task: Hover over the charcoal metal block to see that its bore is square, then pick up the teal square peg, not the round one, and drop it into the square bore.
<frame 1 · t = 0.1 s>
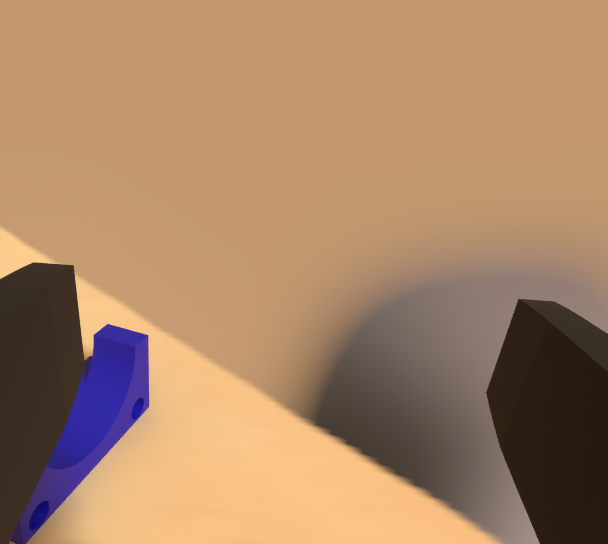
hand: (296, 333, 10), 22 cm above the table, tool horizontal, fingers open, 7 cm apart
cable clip: (64, 459, 35), on the table
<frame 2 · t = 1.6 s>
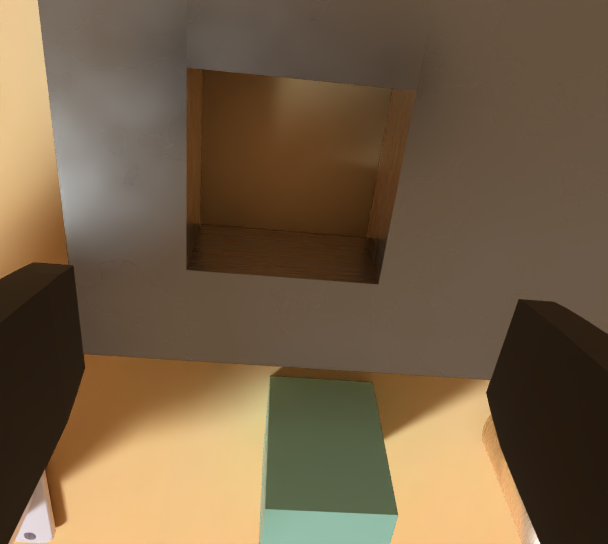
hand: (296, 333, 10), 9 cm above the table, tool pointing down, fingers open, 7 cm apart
bore block: (387, 159, 18), on the table
round peg: (530, 429, 24), on the table
square peg: (315, 416, 23), on the table
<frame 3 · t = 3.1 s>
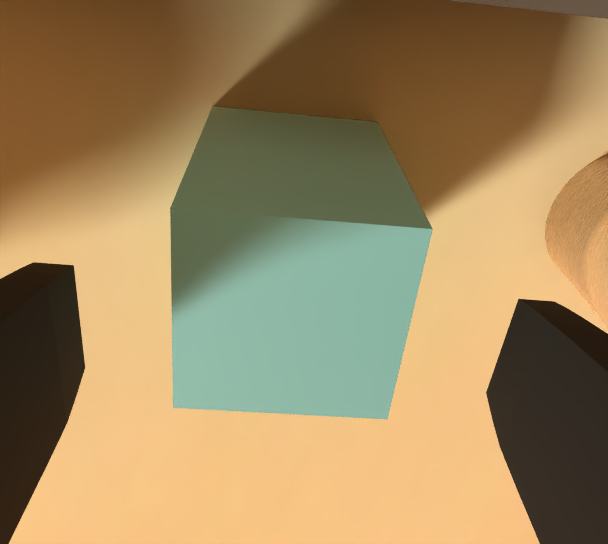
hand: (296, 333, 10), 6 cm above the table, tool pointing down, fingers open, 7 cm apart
square peg: (288, 190, 15), on the table
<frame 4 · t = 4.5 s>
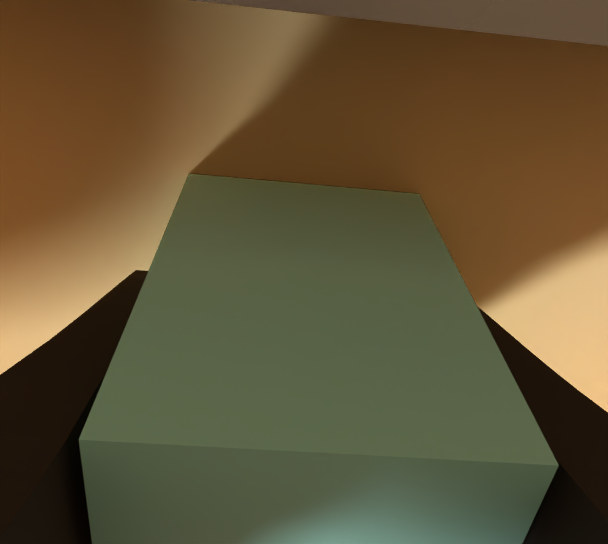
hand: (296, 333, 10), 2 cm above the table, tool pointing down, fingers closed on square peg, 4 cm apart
square peg: (294, 282, 11), on the table, touching gripper
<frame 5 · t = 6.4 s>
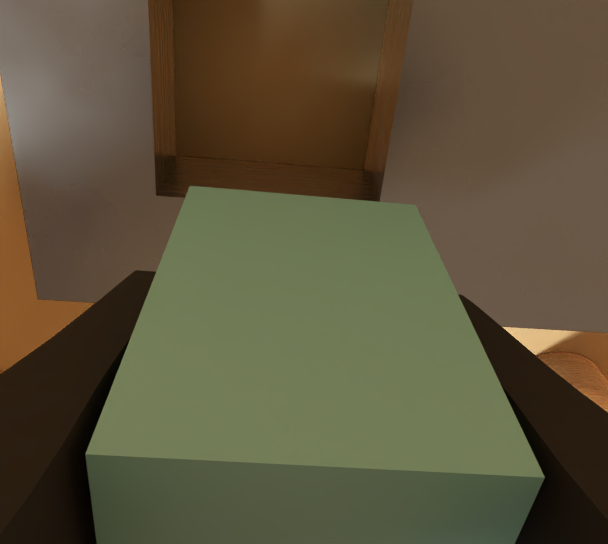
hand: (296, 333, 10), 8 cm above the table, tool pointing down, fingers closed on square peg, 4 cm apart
bore block: (387, 74, 16), on the table
round peg: (548, 394, 22), on the table
square peg: (293, 291, 11), point 7 cm above the table, touching gripper
when the fingers open (4 cm above the table, at t = 8.5 s): square peg drops 2 cm, resting in bore block.
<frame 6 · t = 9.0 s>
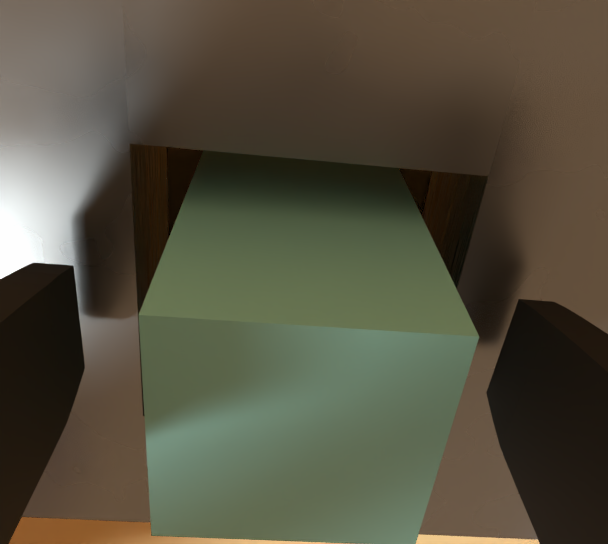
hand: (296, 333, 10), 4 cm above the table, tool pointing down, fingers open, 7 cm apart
bore block: (426, 244, 13), on the table
square peg: (293, 241, 13), resting in bore block
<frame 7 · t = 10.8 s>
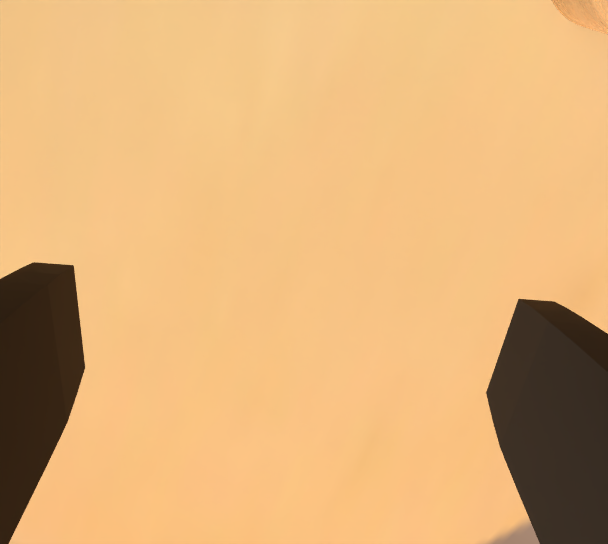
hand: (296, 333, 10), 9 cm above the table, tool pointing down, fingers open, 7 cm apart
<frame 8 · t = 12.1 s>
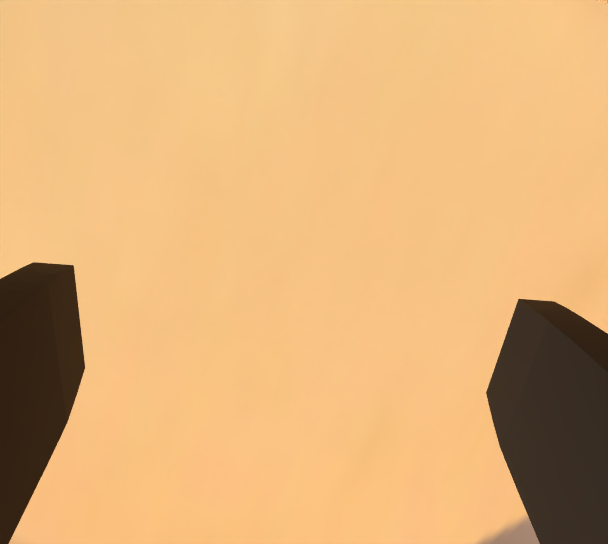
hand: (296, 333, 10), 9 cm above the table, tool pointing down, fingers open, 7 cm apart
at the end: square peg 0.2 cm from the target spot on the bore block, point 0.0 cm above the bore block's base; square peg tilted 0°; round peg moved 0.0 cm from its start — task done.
